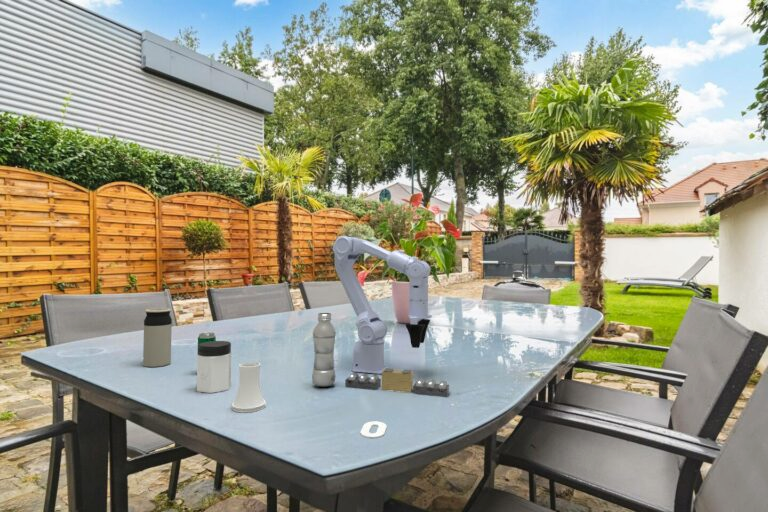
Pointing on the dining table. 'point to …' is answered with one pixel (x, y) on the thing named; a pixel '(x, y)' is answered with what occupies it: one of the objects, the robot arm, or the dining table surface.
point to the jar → (214, 366)
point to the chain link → (367, 427)
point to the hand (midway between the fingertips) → (417, 345)
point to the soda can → (206, 338)
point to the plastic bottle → (324, 351)
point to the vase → (249, 389)
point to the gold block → (397, 380)
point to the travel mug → (157, 337)
